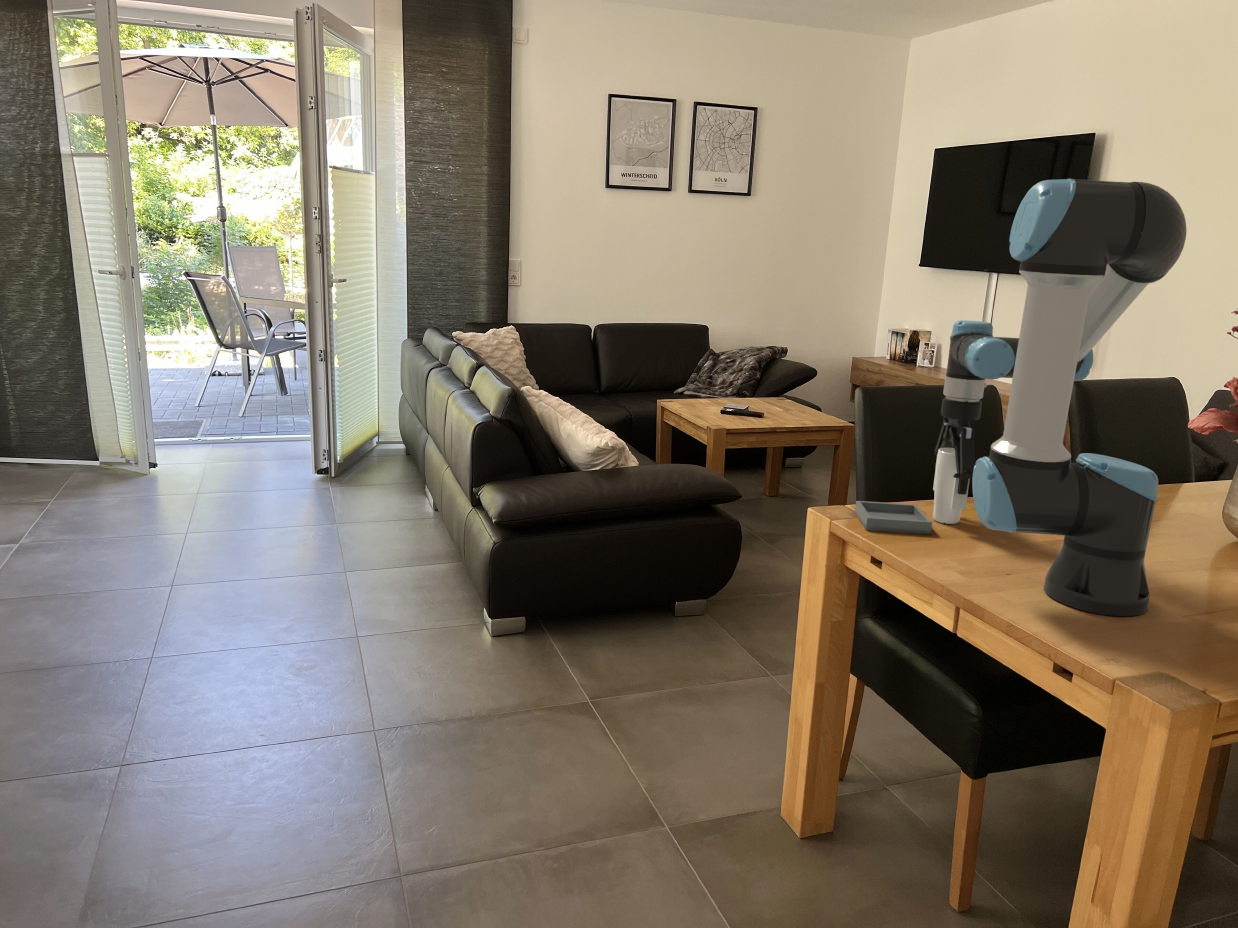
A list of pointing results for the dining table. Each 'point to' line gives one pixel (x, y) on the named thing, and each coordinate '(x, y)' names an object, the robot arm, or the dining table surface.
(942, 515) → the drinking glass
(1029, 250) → the robot arm
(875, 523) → the tray
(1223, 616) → the dining table surface
